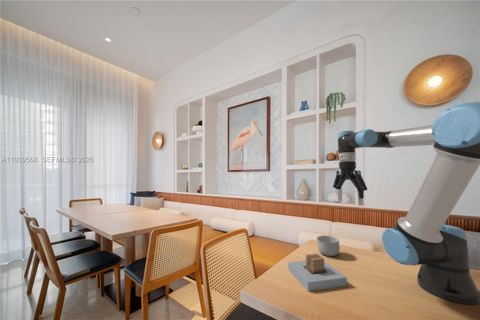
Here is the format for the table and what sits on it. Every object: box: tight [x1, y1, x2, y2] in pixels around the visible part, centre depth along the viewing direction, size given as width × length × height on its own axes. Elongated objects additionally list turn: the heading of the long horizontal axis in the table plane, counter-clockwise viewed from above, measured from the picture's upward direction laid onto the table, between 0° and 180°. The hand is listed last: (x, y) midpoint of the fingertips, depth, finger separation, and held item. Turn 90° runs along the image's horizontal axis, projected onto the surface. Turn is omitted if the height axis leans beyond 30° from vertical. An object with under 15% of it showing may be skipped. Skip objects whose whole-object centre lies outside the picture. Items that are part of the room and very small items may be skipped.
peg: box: [305, 253, 325, 275], centre depth 78 cm, size 5×5×8 cm
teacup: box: [316, 234, 340, 257], centre depth 101 cm, size 14×11×8 cm
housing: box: [287, 260, 348, 292], centre depth 78 cm, size 16×16×3 cm
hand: (349, 203), depth 97 cm, fingers open, 13 cm apart
